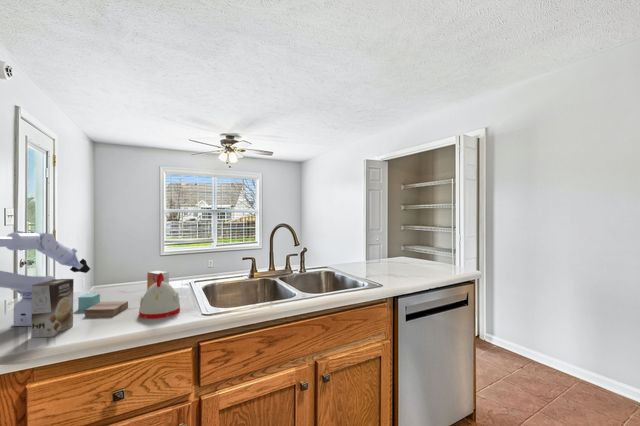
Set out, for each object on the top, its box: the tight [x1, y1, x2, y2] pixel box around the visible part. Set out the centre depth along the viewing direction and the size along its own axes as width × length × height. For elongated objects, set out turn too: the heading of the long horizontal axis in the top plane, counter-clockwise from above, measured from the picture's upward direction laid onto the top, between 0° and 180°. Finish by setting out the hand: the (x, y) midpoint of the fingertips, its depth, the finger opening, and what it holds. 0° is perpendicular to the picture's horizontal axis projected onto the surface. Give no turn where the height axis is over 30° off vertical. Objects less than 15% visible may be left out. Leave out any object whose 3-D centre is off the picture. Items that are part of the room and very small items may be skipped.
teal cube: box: [77, 293, 101, 311], centre depth 123 cm, size 5×5×5 cm
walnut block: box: [84, 300, 129, 318], centre depth 119 cm, size 10×10×3 cm
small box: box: [146, 270, 170, 291], centre depth 143 cm, size 8×6×10 cm
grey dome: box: [138, 273, 181, 320], centre depth 119 cm, size 14×14×15 cm
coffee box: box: [30, 278, 74, 338], centre depth 99 cm, size 9×6×16 cm
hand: (81, 266), depth 129 cm, fingers open, 7 cm apart
